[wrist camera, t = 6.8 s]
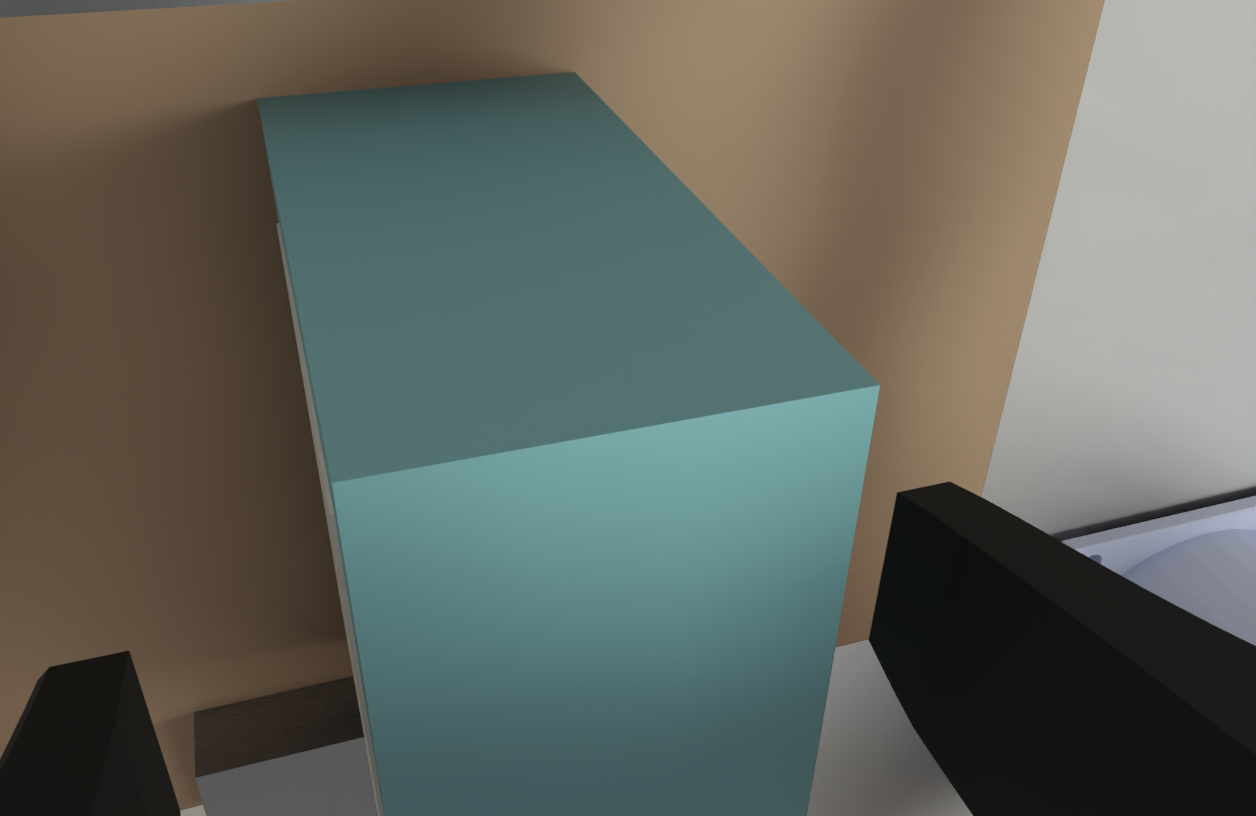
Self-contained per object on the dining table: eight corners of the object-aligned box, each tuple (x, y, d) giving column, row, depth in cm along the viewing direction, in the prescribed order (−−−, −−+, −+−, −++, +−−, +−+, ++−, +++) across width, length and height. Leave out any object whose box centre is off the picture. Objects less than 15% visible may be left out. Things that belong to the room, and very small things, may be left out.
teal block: (574, 72, 13) (879, 384, 7) (578, 589, 17) (769, 1027, 12) (254, 99, 12) (325, 484, 6) (346, 639, 16) (435, 1144, 11)
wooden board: (1085, -263, 14) (1246, -249, 12) (909, 567, 22) (987, 664, 20) (-740, -275, 9) (-1017, -257, 7) (-130, 807, 17) (-173, 971, 15)
